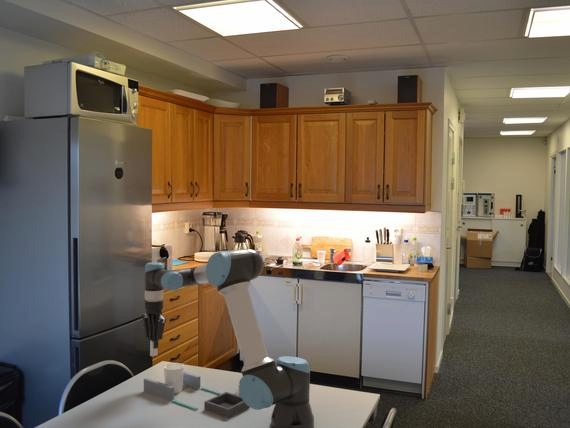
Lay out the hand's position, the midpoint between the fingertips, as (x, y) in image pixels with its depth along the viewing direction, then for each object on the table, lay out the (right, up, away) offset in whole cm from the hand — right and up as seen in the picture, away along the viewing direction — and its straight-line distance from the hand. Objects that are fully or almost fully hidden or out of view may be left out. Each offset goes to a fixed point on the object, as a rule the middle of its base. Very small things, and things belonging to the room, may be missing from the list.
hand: (153, 355), depth 221 cm
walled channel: (+9, -12, -6) cm, 16 cm away
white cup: (+10, -13, -7) cm, 17 cm away
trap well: (+33, -14, -24) cm, 43 cm away
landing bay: (+22, -13, -15) cm, 29 cm away
